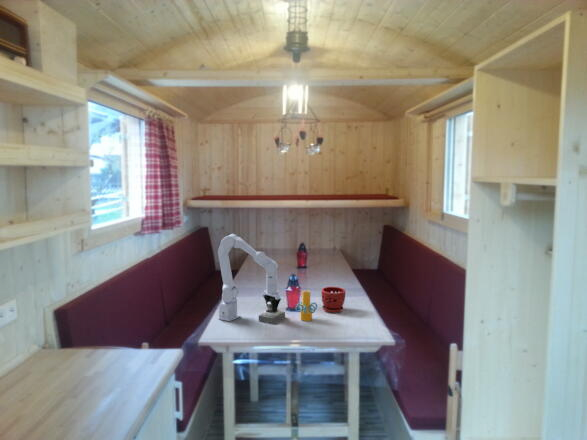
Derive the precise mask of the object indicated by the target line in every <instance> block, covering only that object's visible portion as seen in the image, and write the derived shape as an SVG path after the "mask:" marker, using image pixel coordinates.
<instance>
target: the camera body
mask: <svg viewBox="0 0 587 440" xmlns="http://www.w3.org/2000/svg"><path fill="white" fill-rule="evenodd" d="M283 319H286V312H285V311H282V310H280V309H278V308H277V311H276V313H268V309H267V308H266V309H264V310H263V313H261V314H259V315H258V322H261V323H266V324H270V325H273V324H275V323H277V322H280V321H282V320H283Z"/></svg>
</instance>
